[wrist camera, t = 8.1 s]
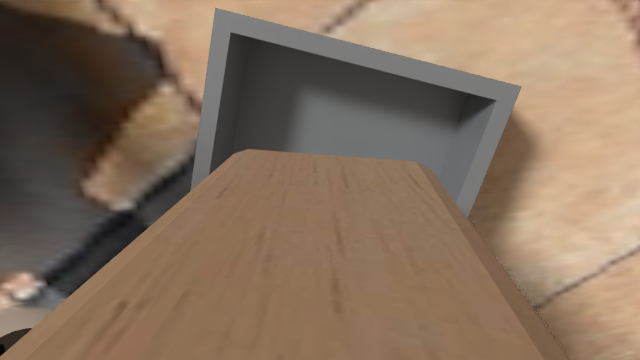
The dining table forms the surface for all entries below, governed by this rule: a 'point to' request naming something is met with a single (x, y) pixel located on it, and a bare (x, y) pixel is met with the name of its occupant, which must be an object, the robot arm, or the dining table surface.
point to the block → (300, 274)
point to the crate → (345, 104)
